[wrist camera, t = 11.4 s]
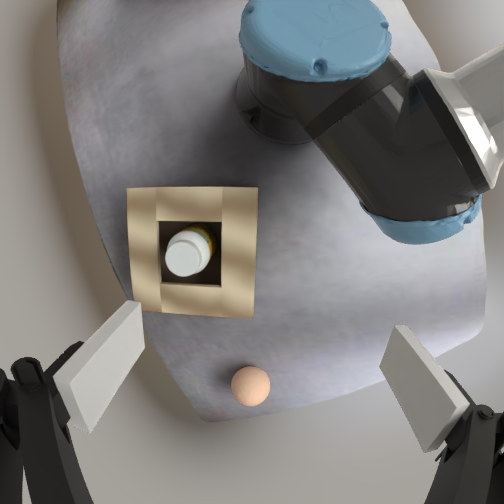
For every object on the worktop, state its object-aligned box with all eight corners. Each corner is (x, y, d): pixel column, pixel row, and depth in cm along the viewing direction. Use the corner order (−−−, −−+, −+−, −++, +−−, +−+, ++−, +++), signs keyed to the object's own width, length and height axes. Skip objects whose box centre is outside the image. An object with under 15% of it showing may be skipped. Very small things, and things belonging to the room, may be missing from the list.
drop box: (152, 186, 39) (126, 188, 31) (258, 187, 39) (258, 187, 31) (156, 286, 43) (135, 309, 35) (254, 292, 43) (253, 318, 34)
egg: (225, 371, 47) (220, 400, 39) (251, 352, 46) (250, 380, 38) (251, 390, 48) (249, 420, 40) (277, 372, 47) (279, 402, 39)
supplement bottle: (177, 252, 40) (154, 273, 30) (187, 217, 38) (164, 229, 29) (211, 264, 40) (197, 289, 31) (222, 229, 39) (211, 244, 29)
